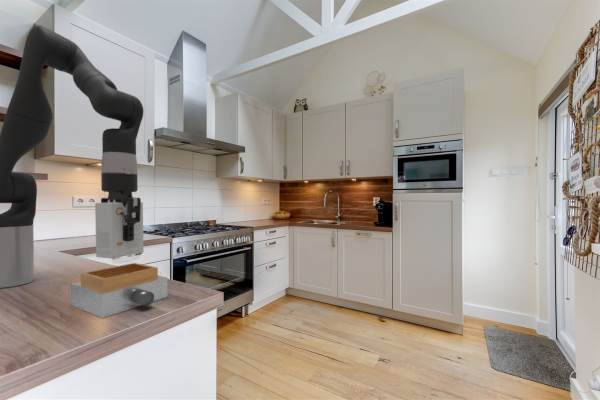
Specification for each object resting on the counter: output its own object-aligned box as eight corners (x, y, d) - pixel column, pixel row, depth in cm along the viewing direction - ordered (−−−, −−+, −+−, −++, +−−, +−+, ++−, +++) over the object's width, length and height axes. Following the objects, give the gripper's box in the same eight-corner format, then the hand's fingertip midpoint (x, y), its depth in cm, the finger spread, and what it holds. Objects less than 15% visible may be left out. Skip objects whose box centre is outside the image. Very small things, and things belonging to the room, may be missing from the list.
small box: (126, 251, 75) (126, 202, 75) (144, 252, 72) (143, 202, 72) (94, 257, 67) (94, 202, 67) (113, 259, 65) (112, 202, 65)
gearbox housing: (70, 304, 67) (70, 273, 67) (134, 287, 80) (134, 261, 80) (111, 322, 57) (111, 285, 57) (177, 299, 70) (177, 269, 70)
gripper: (88, 173, 70) (89, 239, 70) (119, 169, 63) (119, 244, 63) (120, 175, 77) (121, 236, 77) (151, 172, 69) (152, 239, 69)
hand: (120, 239), depth 70 cm, fingers closed on small box, 6 cm apart
